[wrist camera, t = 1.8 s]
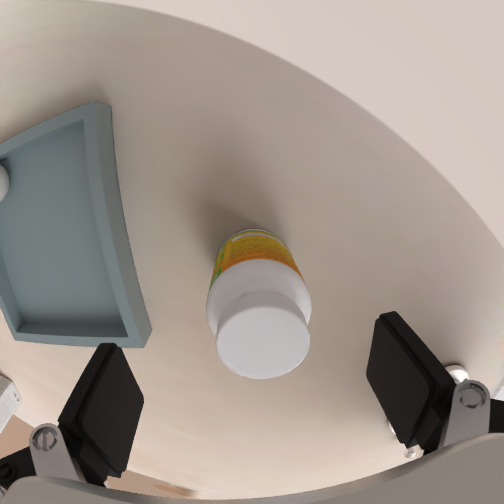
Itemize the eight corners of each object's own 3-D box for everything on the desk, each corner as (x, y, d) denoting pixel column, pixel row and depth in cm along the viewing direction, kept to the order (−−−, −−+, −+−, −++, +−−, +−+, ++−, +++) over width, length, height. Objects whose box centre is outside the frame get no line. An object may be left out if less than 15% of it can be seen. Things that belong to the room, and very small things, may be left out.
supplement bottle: (213, 229, 19) (189, 291, 10) (290, 226, 20) (332, 284, 10) (219, 298, 21) (206, 391, 12) (290, 295, 21) (319, 385, 12)
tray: (152, 330, 22) (143, 347, 20) (26, 328, 22) (14, 340, 20) (111, 106, 16) (95, 100, 14) (-15, 161, 16) (-32, 164, 14)
